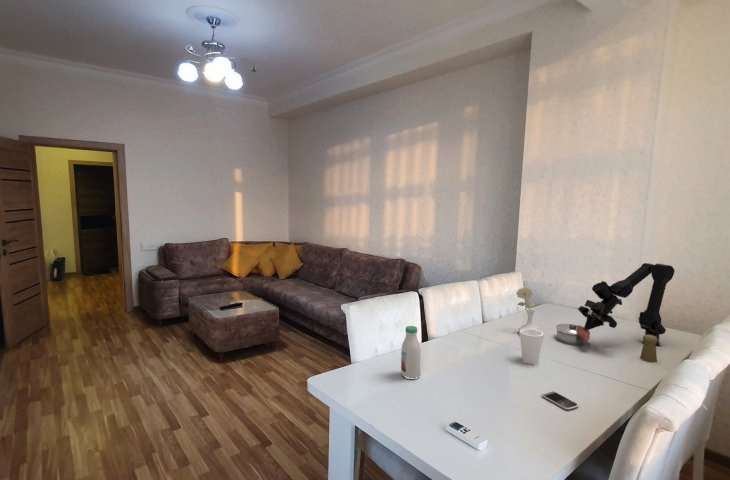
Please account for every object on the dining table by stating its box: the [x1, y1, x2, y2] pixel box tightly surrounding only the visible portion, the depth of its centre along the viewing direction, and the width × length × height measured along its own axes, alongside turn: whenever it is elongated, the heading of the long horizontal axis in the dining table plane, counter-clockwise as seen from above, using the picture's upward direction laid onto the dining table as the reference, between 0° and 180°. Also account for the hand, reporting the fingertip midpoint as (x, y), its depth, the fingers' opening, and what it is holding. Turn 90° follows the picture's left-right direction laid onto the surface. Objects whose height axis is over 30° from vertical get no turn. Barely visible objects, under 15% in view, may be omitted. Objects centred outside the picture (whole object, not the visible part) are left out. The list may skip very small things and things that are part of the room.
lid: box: [555, 323, 591, 341], centre depth 187 cm, size 23×15×5 cm, turn 173°
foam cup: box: [519, 329, 545, 365], centre depth 166 cm, size 10×9×13 cm
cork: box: [640, 334, 658, 363], centre depth 168 cm, size 6×6×11 cm
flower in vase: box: [515, 287, 541, 334], centre depth 199 cm, size 13×11×25 cm
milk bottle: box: [400, 325, 422, 378], centre depth 152 cm, size 8×8×20 cm
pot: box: [556, 329, 591, 348], centre depth 189 cm, size 24×14×5 cm, turn 176°
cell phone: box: [540, 391, 579, 412], centre depth 133 cm, size 6×11×1 cm, turn 24°
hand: (585, 329), depth 180 cm, fingers closed
